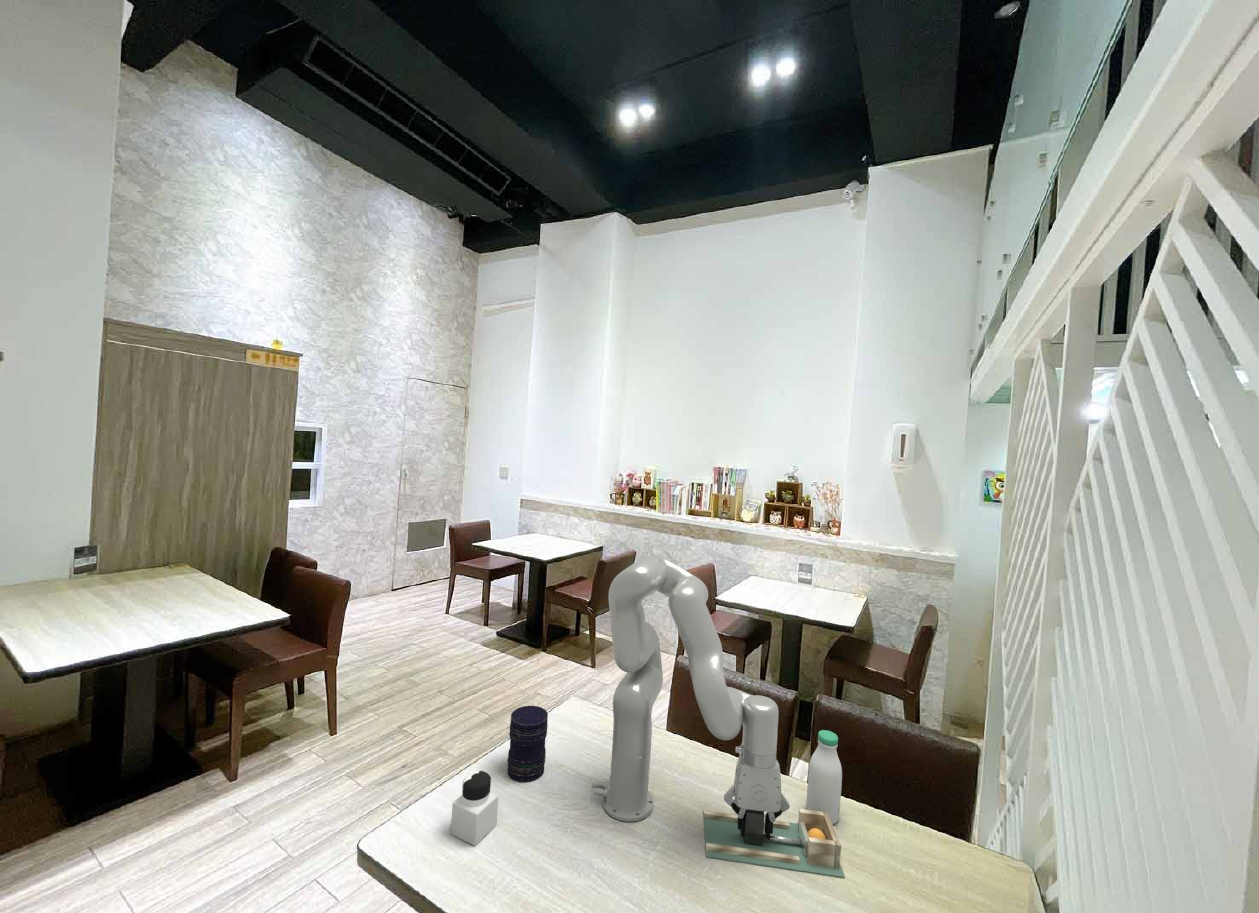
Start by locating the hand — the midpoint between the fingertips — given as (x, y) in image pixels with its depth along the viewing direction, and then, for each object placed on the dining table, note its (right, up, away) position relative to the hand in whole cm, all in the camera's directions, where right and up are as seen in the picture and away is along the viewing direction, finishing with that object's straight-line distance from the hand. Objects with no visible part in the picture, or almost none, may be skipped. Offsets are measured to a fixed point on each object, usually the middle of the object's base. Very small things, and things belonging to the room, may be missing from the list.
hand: (754, 832), depth 115 cm
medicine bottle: (-63, +2, -2) cm, 63 cm away
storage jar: (-56, +2, +19) cm, 59 cm away
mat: (+3, -2, 0) cm, 4 cm away
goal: (+14, -3, -1) cm, 14 cm away
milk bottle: (+19, -3, +10) cm, 22 cm away
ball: (+14, -1, -1) cm, 14 cm away
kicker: (+4, -2, 0) cm, 5 cm away
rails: (-1, -2, 0) cm, 2 cm away
